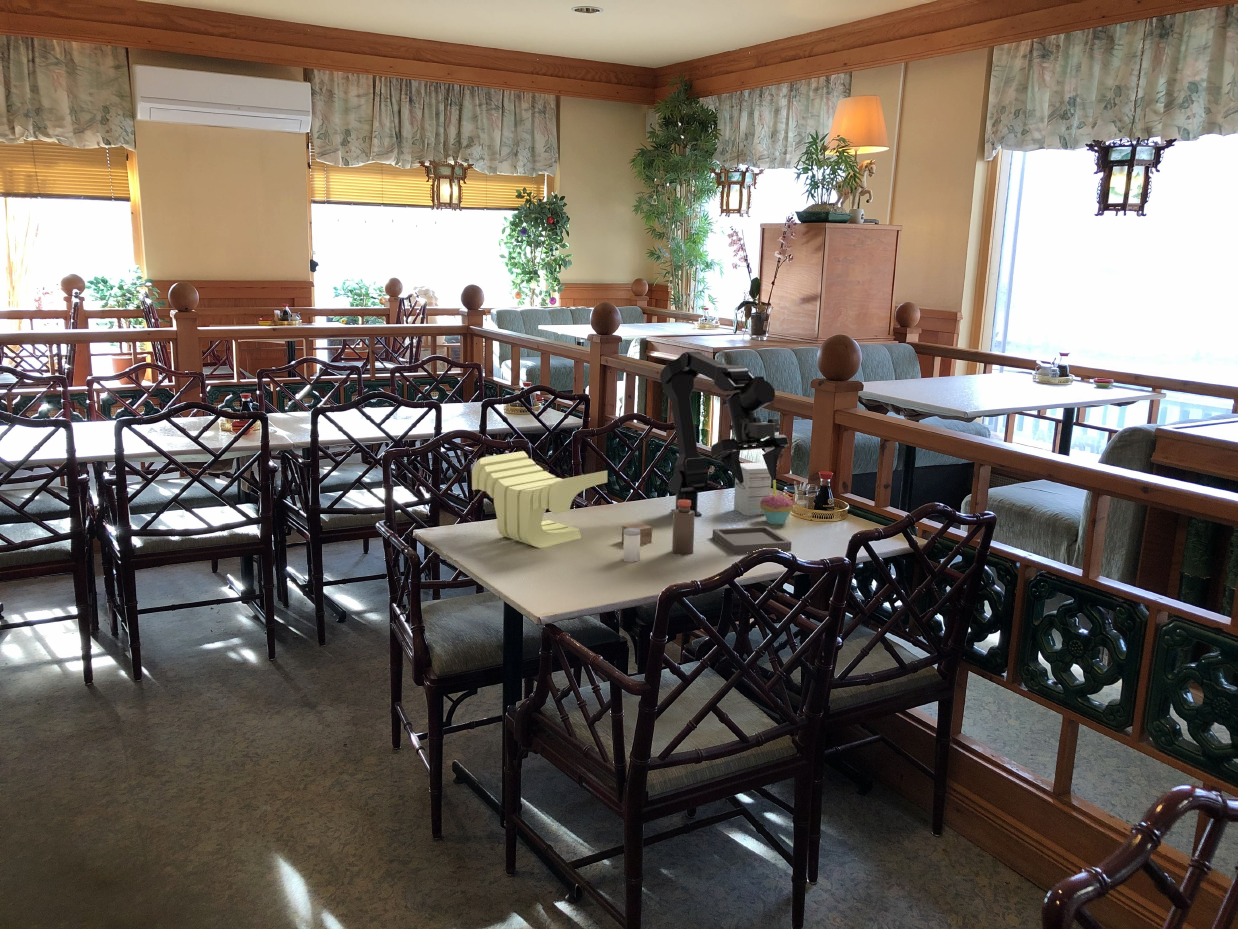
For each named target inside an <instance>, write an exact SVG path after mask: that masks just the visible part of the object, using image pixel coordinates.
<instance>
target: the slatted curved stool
mask: <svg viewBox="0 0 1238 929" xmlns="http://www.w3.org/2000/svg"><path fill="white" fill-rule="evenodd" d="M606 483H608V470H601V471H597V472H591V473H586V474H582V475H576V476H572V477H570V476H569V477H567V478H561V477H556V475H553V474H552V473H549V472H548V471H546V470H544V469H543V468H542V467H541V466H540V465H536V462H535V461H534V460H533V459H532V458H529V455H528V454H527V453H526V451H524V450H523V451H521V450H520V451H517V452H510V453H509V452H508V453H503V454H497V455H495V454H494V455H489V456H483V457H480V458H479V459H478V460H477V461H476V462H475V463H474V465H473V467H472V471H471V489H472V491H475V490H480V491H482V492H486V494H488V495H489V497H490V498H491V499H493V505H494V510H495V515H496V523H497V524H496V525H497V531H498V533H499V535H501V536H503V537H505V538H508V539H511V540H514V541H516V542H520V543H524V544H526V545H529V546H532V547H535V548H539V549H541V548H546V547H547V548H548V547H550V546H554V545H557V544H561V543H562V544H563V543H566V542H571V541H574V540H575V541H576V540H579V539H581V538H582V535H581V533H580V529H579V528H576V527H572V526H569V525H566V524H563V523H560V522H557V523H556V521H553V520H549V519H547V520H543V517H544V516H545V513H546V511H547V510H548V511H550V512H552V513H553V514H560V513H565V512H570V510H571V505H572V502H573V501H574V500H575V497H577V495H578V494H580V493H581V492H582V491H584V490H587V489H589V488H591V487H592V488H593V487H595V486H597V485H602V484H606Z"/></svg>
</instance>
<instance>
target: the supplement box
mask: <svg viewBox="0 0 1238 929" xmlns="http://www.w3.org/2000/svg"><path fill="white" fill-rule="evenodd" d="M740 465H741V469H742V473H743V479H744V482H743V483H739V481H738V480H737V479H736V478H734V498H733V499H734V501H733V509H734V510H735V511H737V512H739V513H741V514H743V515H744V516H745V515H747V516H755V515H754V514H764V515H765V513H764V511H763V510H762V509H761V507H760V504H761V503H760V502H761V500H762V499H763V498H764V497H766V496H768V495H771V490H772V489H771V486H772V478H771V476H770V474H769V472H768V469H767V466H766V464H764V463H761V462H747V463H746V462H743V463H741V462H740Z"/></svg>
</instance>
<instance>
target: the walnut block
mask: <svg viewBox="0 0 1238 929" xmlns="http://www.w3.org/2000/svg"><path fill="white" fill-rule="evenodd" d="M626 528H638V529H640V546H643V545H642V544H644V545H648V544H647V543H649V544H652V542H653V541H652V539H653V536H652V535H653V527H652V526H650V525H647V524H645V523H642V522H639V521H638V522H634V523H628V524H622V525H621V542H622V543H624V529H626Z"/></svg>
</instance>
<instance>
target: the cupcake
mask: <svg viewBox="0 0 1238 929" xmlns="http://www.w3.org/2000/svg"><path fill="white" fill-rule="evenodd" d="M776 482H777V480H776V479H775V480H772V488H773V489H772V490H773V494H770V495H768V496H766V497H764V498H763V499H762V500H761V502H760V503H761V504H760V507H761V509H762V510H763V511H764V513H765V514H764V517H765V519H766V521H765V522H766V523H768V524H771V525H784V524H786V522H787V518H788V517H789V515H790V513H791V512H792V511H793V510H794V501H793V500H792V499H791V498H789V497H788V496H786V495H783V494H777V484H776Z"/></svg>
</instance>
